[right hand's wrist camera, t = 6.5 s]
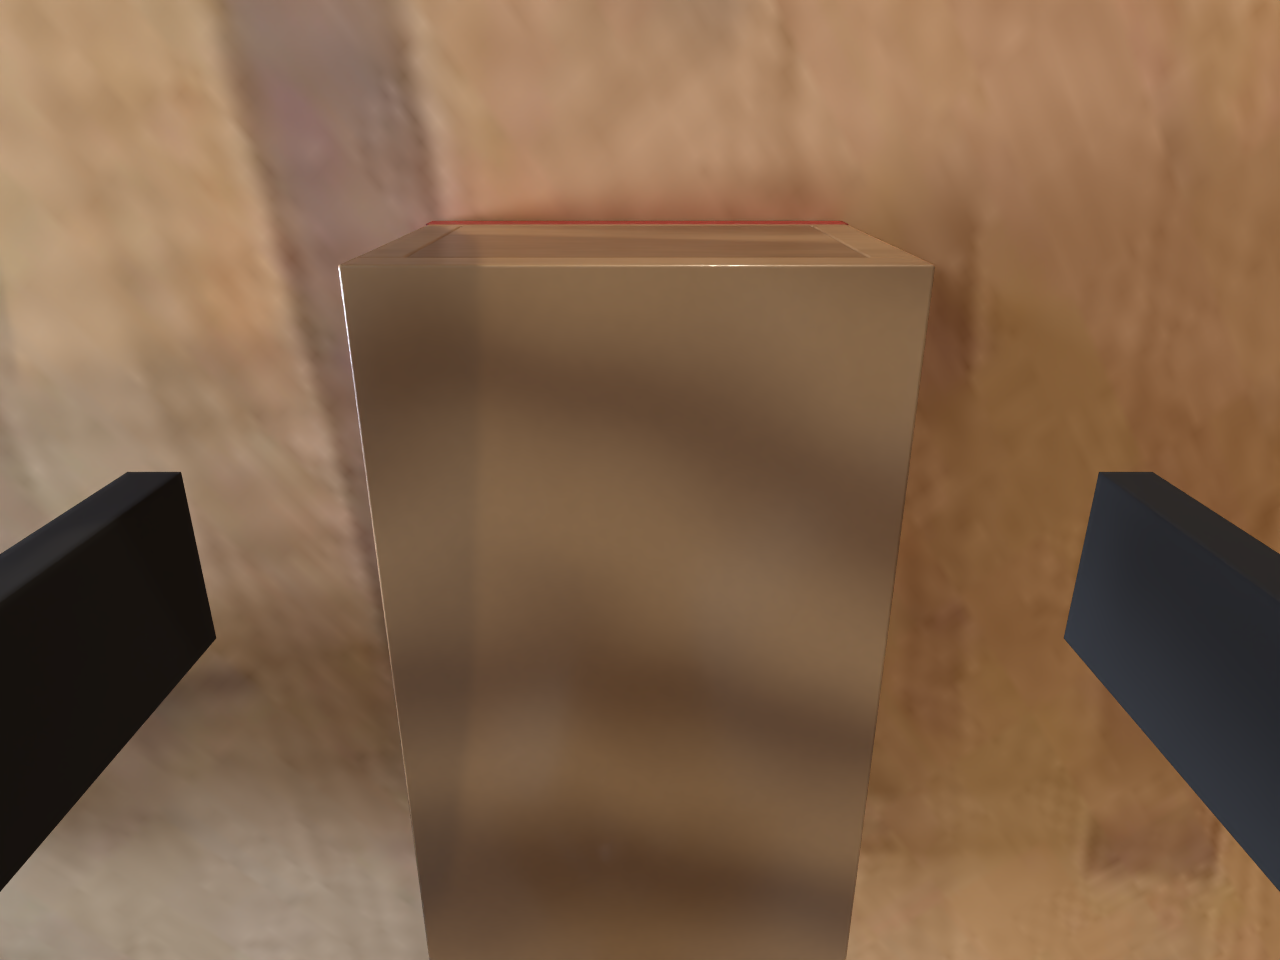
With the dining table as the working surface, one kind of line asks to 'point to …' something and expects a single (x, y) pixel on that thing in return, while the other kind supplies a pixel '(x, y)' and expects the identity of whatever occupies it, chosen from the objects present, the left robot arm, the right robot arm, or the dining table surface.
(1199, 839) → the dining table surface
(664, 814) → the cabinet
